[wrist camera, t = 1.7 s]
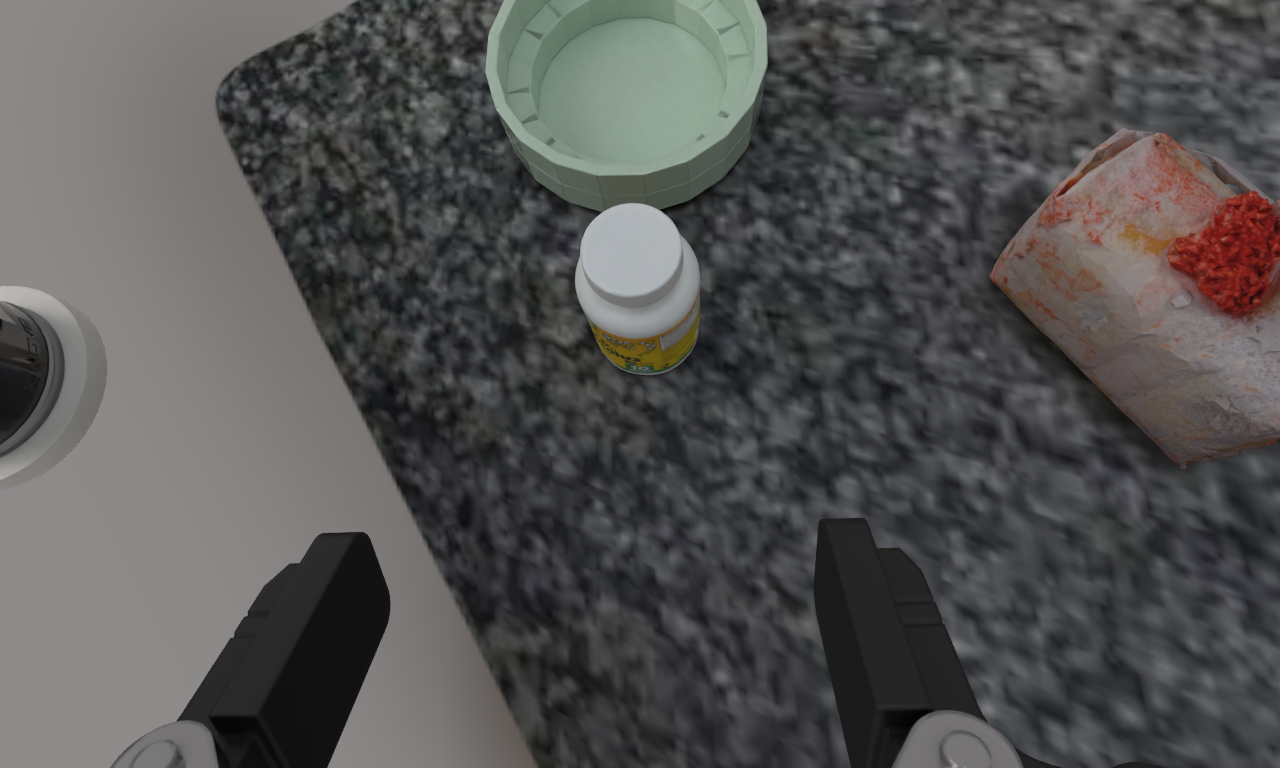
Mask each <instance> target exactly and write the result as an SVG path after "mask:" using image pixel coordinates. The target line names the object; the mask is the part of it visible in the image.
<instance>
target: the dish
mask: <svg viewBox="0 0 1280 768" xmlns="http://www.w3.org/2000/svg"><path fill="white" fill-rule="evenodd" d="M767 65H768V53H767V25H766V23H765V20H764V18H763V15H762V13H761V10H760V8H759V6H758V3H757V1H756V0H504V2H503V4H502V6H501V8H500V11H499V13H498V15H497V17H496V19H495V21H494V24H493V26H492V28H491V30H490V32H489V37H488V48H487V59H486V70H485V71H486V76H487V80H488V83H489V87H490V91H491V94H492V98H493V101H494V105H495V108H496V110H497V113H498V115H499V117H500V120H501V122H502V124H503V127H504V129H505V131H506V134H507V136H508V138H509V141H510V143H511V145H512V148H513V150H514V152H515V153H516V154H517V156H518V157H519V159H520V160H521V161H522V163H523V164H524V165H525V167H526V168H527V169H528V171H529V172H530V174H531V175H532V176H533V178H534V179H535V180H536V181H538V182H539V183H540V184H542V185H543V186H545V187H546V188H548V189H549V190H551V191H552V192H554V193H555V194H557V195H558V196H560V197H561V198H562V199H564V200H565V201H568V202H569V203H573V204H576V205H580V206H583V207H586V208H590V209H593V210H597V211H600V212H604V211H606V210H607V209H610V208H612V207H614V206H617V205H621V204H627V203H640V204H645V205H649V206H652V207H654V208H656V209H658V210H660V209H664V208H667V207H670V206H673V205H677V204H680V203H683V202H687V201H688V200H691V199H692V198H694V197H695V196H697V195H698V194H700V193H701V192H703V191H704V190H706V189H707V188H709V187H710V186H712V185H713V184H715V183H716V182H718V181H719V180H721V179H722V178H724V177H725V175H726V174H727V173H728V172H729V170H730V169H731V168H732V167H733V165H734V164H735V163H736V162H737V160H738V159H739V158H740V157H741V155H742V154H743V153H744V152H745V150H746V149H747V147H748V145H749V143H750V140H751V137H752V134H753V131H754V129H755V126H756V123H757V120H758V117H759V114H760V110H761V104H762V97H763V91H764V84H765V78H766V72H767Z"/></svg>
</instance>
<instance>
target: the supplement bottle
mask: <svg viewBox="0 0 1280 768" xmlns="http://www.w3.org/2000/svg"><path fill="white" fill-rule="evenodd" d="M575 286H576V292H577V296H578V300H579V302H580V305H581V307H582V309H583V311H584V313H585V316H586V318H587V320H588V322H589V324H590V327H591V329H592V331H593V333H594V336H595V338H596V340H597V342H598V345H599V347H600V349H601V351H602V352H603V354H604V355H605V356H606V357H607V358H608V360H609V361H611V362H612V363H613V364H614V365H615V366H617V367H618V368H620V369H621V370H624V371H626V372H629V373H633V374H641V375H656V374H661V373H665V372H668V371H670V370H672V369H673V368H675V367H677V366H678V365H679V364H681V363H682V362H683V361H684V360H685V359H686V358H687V357H688V355H689V354H690V353H691V351H692V349H693V347H694V346H695V343H696V341H697V338H698V333H699V324H700V272H699V266H698V262H697V259H696V256H695V254H694V252H693V250H692V248H691V247H690V245H689V244H688V243H687V241H686V240H685V239H684V238H683V237H682V236H681V235H680V234H679V232H678V230H677V228H676V226H675V224H674V223H673V222H672V220H671V219H670V218H669V217H668V216H667V215H665V214H664V213H663V212H661V211H660V210H658V209H656V208H654V207H652V206H649V205H645V204H640V203H627V204H621V205H617V206H614V207H612V208H610V209H607V210H606V211H604V212H602V213H601V214H600V215H598V216H597V217H596V218H595V219H594V220H593V221H592V222H591V224H590V225H589V226H588V228H587V229H586V231H585V233H584V236H583V239H582V242H581V248H580V258H579V261H578V264H577V268H576V274H575Z"/></svg>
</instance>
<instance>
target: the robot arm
mask: <svg viewBox="0 0 1280 768" xmlns="http://www.w3.org/2000/svg"><path fill="white" fill-rule="evenodd" d="M64 367H65V365H64V353H63V349H62V345H61V342H60V340H59V337H58V335H57V333H56V332H55V330H54V329H53V327H52V326H51V325H50V324H49V323H48V322H47V321H46V320H45V319H44V318H43V317H41V316H40V315H38V314H37V313H35V312H33V311H31V310H28V309H25V308H23V307H20V306H17V305H15V304H12V303H8V302H4V301H0V457H2V456H4V455H6V454H8V453H10V452H12V451H13V450H15V449H16V448H18V447H19V446H21V445H22V444H23V443H24V442H26V441H27V440H28V439H29V438H30V437H31V436H32V435H33V434H34V433H35V432H36V431H37V430H38V429H39V428H40V427H41V426H42V424H43V423H44V422H45V420H46V419H47V417H48V416H49V414H50V413H51V411H52V409H53V407H54V405H55V403H56V401H57V399H58V396H59V393H60V391H61V387H62V383H63V378H64ZM814 598H815V608H816V615H817V620H818V624H819V629H820V633H821V637H822V642H823V646H824V651H825V655H826V659H827V664H828V668H829V672H830V677H831V681H832V686H833V690H834V694H835V699H836V703H837V707H838V712H839V716H840V721H841V725H842V729H843V734H844V738H845V742H846V747H847V751H848V756H849V760H850V764H851V768H1061V767H1058V766H1054V765H1051V764H1048V763H1045V762H1042V761H1039V760H1036V759H1034V758H1032V757H1030V756H1028V755H1026V754H1024V753H1023V752H1021V751H1019V750H1018V749H1016V748H1014V747H1013V746H1012V744H1011V743H1010V742H1009V741H1008V739H1007V738H1006V737H1005V736H1004V735H1003V734H1002V733H1001V732H1000V731H998V730H997V729H996V728H995V727H993V726H992V725H991V724H989V723H988V722H987V720H986V719H985V717H984V716H983V714H982V712H981V710H980V708H979V706H978V704H977V701H976V699H975V696H974V694H973V692H972V689H971V687H970V684H969V682H968V680H967V677H966V675H965V673H964V670H963V668H962V665H961V663H960V661H959V658H958V656H957V653H956V651H955V649H954V646H953V644H952V641H951V639H950V637H949V634H948V632H947V629H946V627H945V625H943V623H942V618H941V615H940V613H939V610H938V608H937V606H936V603H935V602H933V596H932V594H931V591H930V589H929V586H928V584H927V582H926V579H925V577H924V574H923V572H922V570H921V569H920V568H919V567H918V566H917V565H916V564H915V563H914V562H913V561H912V560H911V559H910V558H909V557H908V556H907V555H906V554H905V553H904V552H903V551H902V550H901V549H900V548H878V549H877V547H876V545H875V542H874V539H873V536H872V533H871V531H870V528H869V525H868V523H867V521H866V519H865V518H842V519H821V520H820V521H819V526H818V537H817V550H816V563H815V576H814ZM389 615H390V594H389V590H388V587H387V585H386V582H385V579H384V576H383V573H382V570H381V568H380V565H379V562H378V559H377V557H376V554H375V551H374V548H373V546H372V543H371V540H370V538H369V536H368V535H367V534H366V533H364V532H349V533H348V532H346V533H322V534H320V535H318V536H317V537H316V538H315V540H314V541H313V543H312V544H311V546H310V547H309V549H308V551H307V553H306V554H305V556H304V557H303V559H302V561H301V562H300V563H298V564H297V563H295V564H289V565H288V566H286V567H285V568H284V569H283V570H282V571H281V572H280V573H278V574H277V575H276V576H275V577H274V578H273V579H272V580H271V581H270V582H268V583H267V584H266V585H265V586H264V587H263V589H262V590H261V592H260V593H259V595H258V597H257V598H256V600H255V601H254V603H253V604H252V606H251V607H250V609H249V610H248V616H247V617H244V618H243V620H242V621H241V623H240V624H239V626H238V627H237V629H236V631H235V634H234V638H230V640H229V641H228V643H227V644H226V646H225V648H224V649H223V651H222V652H221V654H220V655H219V657H218V658H217V660H216V662H215V663H214V665H213V666H212V668H211V669H210V671H209V672H208V674H207V676H206V677H205V679H204V680H203V682H202V683H201V685H200V686H199V688H198V689H197V691H196V693H195V694H194V696H193V697H192V699H191V700H190V702H189V703H188V705H187V707H186V708H185V710H184V711H183V713H182V714H181V716H180V717H179V719H178V720H177V721H176V722H173V723H169V724H166V725H163V726H161V727H159V728H157V729H155V730H153V731H151V732H149V733H147V734H145V735H144V736H142V737H141V738H140V739H138V740H137V741H135V742H134V743H133V744H132V745H130V746H129V747H128V748H127V749H126V750H125V751H124V752H123V753H122V754H121V755H120V756H119V757H118V758H117V760H116V761H115V762H114V763H113V764H112V766H111V767H110V768H327V767H328V764H329V762H330V760H331V758H332V755H333V753H334V750H335V748H336V746H337V743H338V741H339V739H340V736H341V734H342V731H343V729H344V727H345V724H346V721H347V720H348V717H349V715H350V712H351V710H352V708H353V705H354V703H355V701H356V698H357V696H358V693H359V691H360V689H361V686H362V684H363V681H364V679H365V677H366V674H367V672H368V669H369V667H370V665H371V662H372V660H373V658H374V656H375V653H376V651H377V648H378V646H379V644H380V641H381V639H382V637H383V634H384V632H385V629H386V627H387V624H388V620H389ZM1113 768H1163V767H1160V766H1157V765H1153V764H1149V763H1141V762H1129V763H1124V764H1119V765H1117V766H1115V767H1113Z"/></svg>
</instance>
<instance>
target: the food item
mask: <svg viewBox="0 0 1280 768" xmlns="http://www.w3.org/2000/svg"><path fill="white" fill-rule="evenodd" d="M1212 163H1213V164H1212ZM1224 183H1227V184H1231V185H1236V186H1238V187H1239V188H1240V189H1241V190H1242V191H1243V193H1242V194H1240V195H1236V194H1235V193H1234V192H1233V191H1232V190H1231V189H1229V188H1228V187H1227V186H1226V185H1225V184H1224ZM1270 204H1271V205H1270ZM989 277H990V279H991V280H992V281H993V283H994V284H995V285H996V286H997V287H998V288H999V289H1000V290H1001V291H1003V293H1004V294H1005V295H1006V296H1007V297H1008V298H1009V299H1010V300H1011V301H1012V302H1013V303H1014V304H1015V305H1016V306H1017V307H1018V308H1019V309H1020V310H1021V311H1022V312H1023V313H1024V314H1025V316H1026V317H1027V318H1028V319H1029V320H1030V321H1031V322H1032V323H1033V324H1034V325H1035V326H1036V327H1037V328H1038V329H1039V330H1040V331H1041V332H1043V333H1044V334H1045V335H1046V336H1047V337H1048V338H1050V339H1051V340H1052V341H1053V342H1054V343H1055V344H1056V345H1057V346H1058V347H1059V348H1060V349H1061V351H1062V352H1063V353H1064V354H1065V355H1066V356H1067V357H1068V358H1069V359H1070V360H1071V361H1072V362H1073V363H1074V364H1075V365H1076V366H1077V367H1078V368H1079V369H1080V370H1081V371H1082V372H1083V373H1084V374H1085V375H1086V376H1087V377H1088V378H1089V379H1090V380H1091V381H1092V382H1093V383H1094V384H1095V385H1096V386H1097V387H1098V388H1099V389H1100V390H1101V391H1102V392H1103V393H1104V394H1105V395H1106V396H1107V397H1108V398H1109V399H1110V400H1111V401H1112V402H1113V403H1114V404H1115V405H1116V406H1117V407H1118V408H1119V409H1120V410H1121V411H1122V412H1123V413H1124V414H1125V415H1126V416H1127V417H1128V418H1129V419H1130V420H1131V421H1133V422H1134V423H1135V424H1136V425H1137V426H1138V427H1139V428H1140V429H1141V430H1142V431H1143V432H1144V433H1145V434H1146V435H1147V436H1148V437H1149V438H1150V439H1151V440H1152V441H1153V442H1154V443H1155V444H1156V445H1157V446H1158V447H1159V448H1160V449H1161V450H1162V451H1163V452H1164V453H1165V454H1166V455H1167V456H1168V457H1169V458H1170V459H1171V460H1172V461H1174V462H1175V463H1176V464H1177V465H1179V466H1180V469H1187V466H1188V465H1189V464H1190V463H1193V462H1197V461H1200V462H1204V461H1212V460H1217V459H1220V458H1224V457H1229V456H1234V455H1238V454H1240V450H1250V449H1258V448H1262V447H1265V446H1271V445H1273V444H1276V443H1279V441H1278V440H1280V199H1279V200H1277V201H1276V202H1274V201H1273V200H1272V199H1270V198H1269V197H1268V196H1266V195H1265V194H1264V193H1263V192H1261V191H1260V190H1259V189H1257V188H1256V187H1255V186H1254V185H1253V184H1252V183H1251V182H1250V181H1249V180H1248V179H1246V178H1245V177H1244V176H1243V175H1241V174H1240V173H1239V172H1237V171H1236V170H1235V169H1233V168H1232V167H1231V166H1230V165H1228V164H1227V163H1226V162H1224V161H1223V160H1222V159H1219V158H1217V157H1214V156H1211V155H1209V154H1206V153H1203V152H1200V151H1197V150H1193V149H1190V148H1187V147H1184V146H1181V145H1179V144H1178V143H1176V142H1175V141H1174V140H1173V139H1172V138H1171V137H1170V136H1169V135H1168V134H1164V133H1155V134H1154V135H1153V132H1143V131H1135V130H1129V131H1128V130H1127V129H1125V128H1122V129H1121V130H1120V131H1118V132H1117V133H1116V134H1114V135H1113V136H1112V137H1110V138H1109V139H1108V140H1107V141H1105V142H1104V143H1102V144H1100V145H1099V146H1098V147H1096V148H1095V149H1094V150H1092V151H1091V152H1090V153H1088V154H1087V155H1086V156H1084V158H1083V159H1082V161H1081V162H1080V164H1079V165H1078V166H1077V167H1076V168H1075V169H1074V170H1073V171H1072V172H1071V173H1070V175H1069V176H1068V177H1067V178H1066V179H1065V180H1063V181H1062V182H1061V183H1059V184H1058V185H1057V187H1056V188H1055V189H1054V191H1053V192H1052V193H1051V195H1050V196H1049V197H1048V198H1047V199H1046V200H1045V201H1044V203H1043V204H1042V205H1041V206H1040V207H1039V208H1038V210H1037V211H1036V212H1035V213H1034V214H1033V215H1032V216H1031V217H1030V218H1029V219H1028V220H1027V221H1026V222H1025V224H1024V225H1023V226H1022V227H1021V228H1020V230H1019V231H1018V232H1017V233H1016V235H1015V236H1014V237H1013V238H1012V240H1011V241H1010V242H1009V243H1008V245H1007V246H1006V248H1005V249H1004V250H1003V252H1002V253H1001V255H1000V257H999V259H998V260H997V262H996V264H995V266H994V268H993V270H992V272H991V274H990V276H989Z"/></svg>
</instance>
